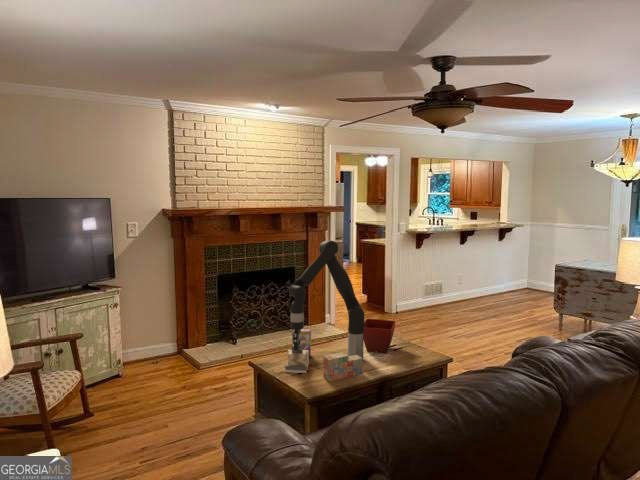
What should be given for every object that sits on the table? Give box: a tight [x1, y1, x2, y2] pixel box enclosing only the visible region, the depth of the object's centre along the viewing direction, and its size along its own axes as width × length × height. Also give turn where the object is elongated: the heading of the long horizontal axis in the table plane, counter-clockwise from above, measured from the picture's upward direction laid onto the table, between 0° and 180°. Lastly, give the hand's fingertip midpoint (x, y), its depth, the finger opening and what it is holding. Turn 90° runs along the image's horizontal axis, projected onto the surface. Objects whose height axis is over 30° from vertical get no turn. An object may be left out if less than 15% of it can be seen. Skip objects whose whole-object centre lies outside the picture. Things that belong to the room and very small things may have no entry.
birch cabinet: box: [287, 345, 306, 366], centre depth 265 cm, size 10×5×12 cm, turn 85°
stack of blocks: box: [322, 352, 363, 382], centre depth 255 cm, size 21×6×12 cm, turn 117°
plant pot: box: [363, 318, 396, 354], centre depth 295 cm, size 19×19×17 cm
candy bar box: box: [291, 328, 312, 358], centre depth 283 cm, size 11×5×16 cm, turn 84°
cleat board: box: [284, 349, 310, 374], centre depth 265 cm, size 12×12×9 cm
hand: (297, 347), depth 264 cm, fingers open, 8 cm apart
